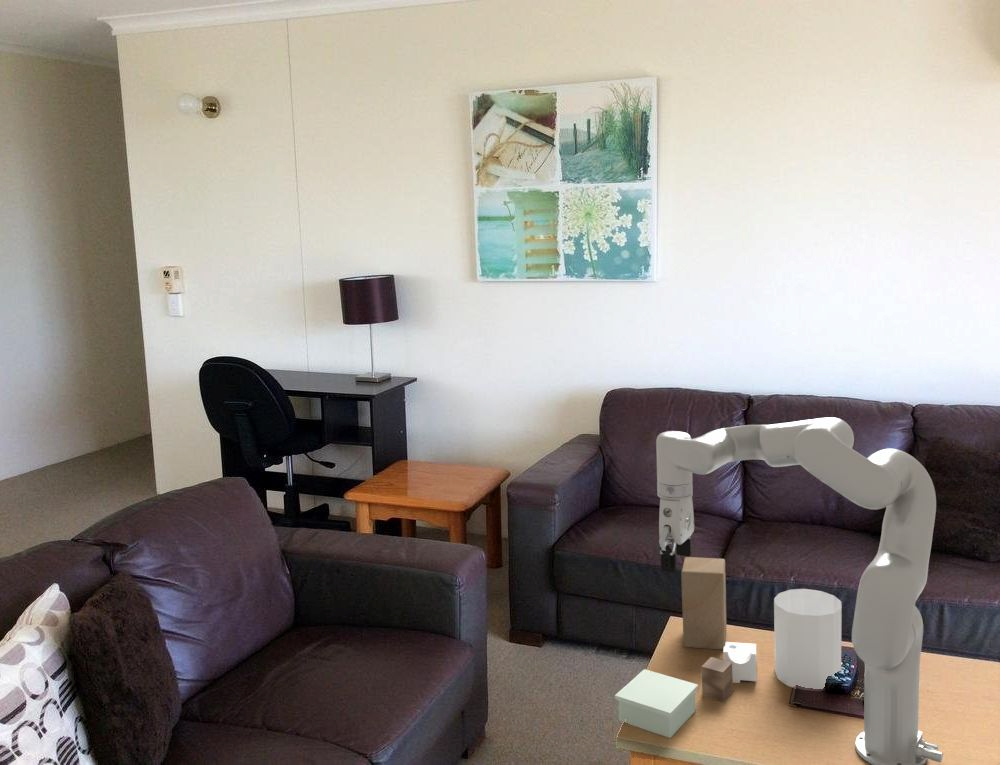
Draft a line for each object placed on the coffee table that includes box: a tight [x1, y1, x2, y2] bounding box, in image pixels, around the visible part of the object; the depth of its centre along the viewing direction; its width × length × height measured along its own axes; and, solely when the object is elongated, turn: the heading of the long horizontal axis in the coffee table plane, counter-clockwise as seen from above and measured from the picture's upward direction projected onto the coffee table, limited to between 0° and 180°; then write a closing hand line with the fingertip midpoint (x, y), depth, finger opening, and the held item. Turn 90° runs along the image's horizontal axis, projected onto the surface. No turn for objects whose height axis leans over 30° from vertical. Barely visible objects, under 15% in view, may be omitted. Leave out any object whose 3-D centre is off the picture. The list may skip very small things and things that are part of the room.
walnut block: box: [701, 656, 734, 703], centre depth 193 cm, size 5×5×7 cm
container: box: [773, 588, 842, 689], centre depth 197 cm, size 14×14×18 cm
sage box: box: [614, 668, 699, 739], centre depth 186 cm, size 13×13×6 cm
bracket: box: [722, 641, 757, 683], centre depth 203 cm, size 13×7×8 cm, turn 164°
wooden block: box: [680, 556, 727, 651], centre depth 217 cm, size 10×10×20 cm
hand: (676, 563), depth 191 cm, fingers open, 9 cm apart
